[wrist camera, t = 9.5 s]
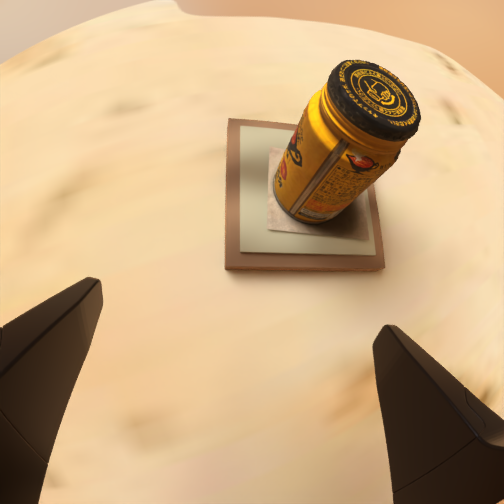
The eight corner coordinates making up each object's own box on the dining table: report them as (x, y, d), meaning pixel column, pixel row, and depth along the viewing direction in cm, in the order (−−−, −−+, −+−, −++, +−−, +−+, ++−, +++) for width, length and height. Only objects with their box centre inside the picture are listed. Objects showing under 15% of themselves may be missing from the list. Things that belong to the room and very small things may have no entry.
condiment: (268, 147, 24) (313, 34, 13) (360, 164, 26) (437, 79, 14) (265, 230, 23) (326, 135, 11) (367, 241, 24) (472, 178, 12)
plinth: (377, 270, 25) (386, 267, 23) (224, 269, 23) (226, 265, 21) (358, 142, 28) (364, 134, 27) (227, 126, 26) (229, 116, 25)
